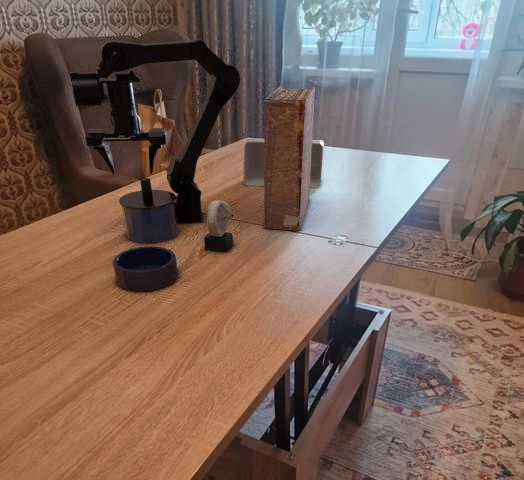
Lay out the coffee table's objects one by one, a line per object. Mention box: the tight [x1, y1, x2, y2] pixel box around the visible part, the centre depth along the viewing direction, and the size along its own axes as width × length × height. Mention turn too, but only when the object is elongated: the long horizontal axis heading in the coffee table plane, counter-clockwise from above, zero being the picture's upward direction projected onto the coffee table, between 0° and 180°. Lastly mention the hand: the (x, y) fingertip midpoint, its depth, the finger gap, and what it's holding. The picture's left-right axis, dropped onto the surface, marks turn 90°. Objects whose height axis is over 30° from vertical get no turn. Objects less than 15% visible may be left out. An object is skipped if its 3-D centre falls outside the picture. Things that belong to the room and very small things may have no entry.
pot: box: [121, 202, 179, 244], centre depth 120 cm, size 13×13×8 cm
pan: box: [112, 245, 178, 293], centre depth 101 cm, size 13×13×4 cm
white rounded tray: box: [242, 137, 325, 189], centre depth 157 cm, size 25×16×12 cm, turn 83°
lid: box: [118, 177, 177, 210], centre depth 116 cm, size 14×14×6 cm
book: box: [263, 85, 316, 232], centre depth 125 cm, size 25×9×30 cm, turn 170°
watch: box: [203, 199, 234, 253], centre depth 112 cm, size 6×8×11 cm
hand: (133, 173), depth 120 cm, fingers open, 9 cm apart
